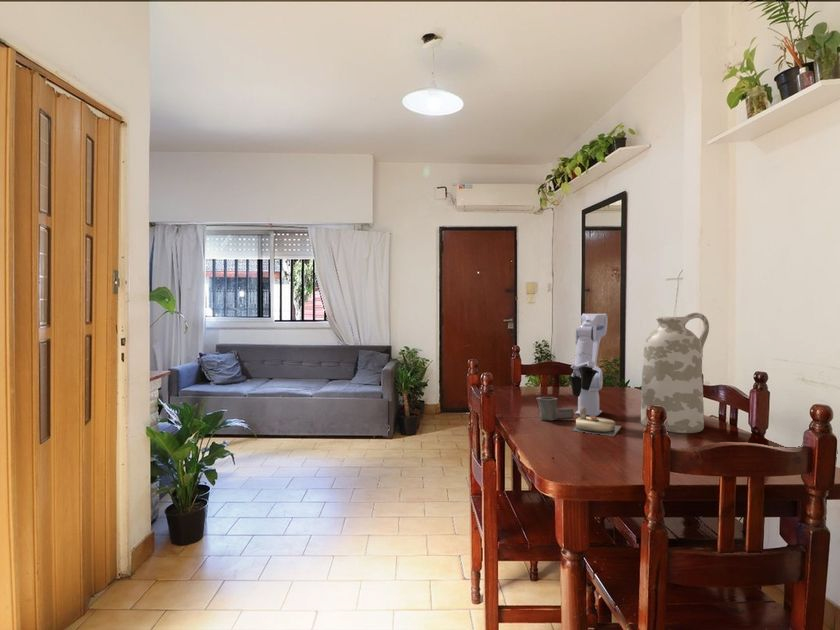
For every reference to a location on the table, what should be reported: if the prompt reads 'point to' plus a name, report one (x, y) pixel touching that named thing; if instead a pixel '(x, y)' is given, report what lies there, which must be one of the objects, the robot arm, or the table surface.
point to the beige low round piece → (594, 422)
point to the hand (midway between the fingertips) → (580, 392)
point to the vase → (675, 373)
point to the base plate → (607, 433)
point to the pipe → (553, 410)
